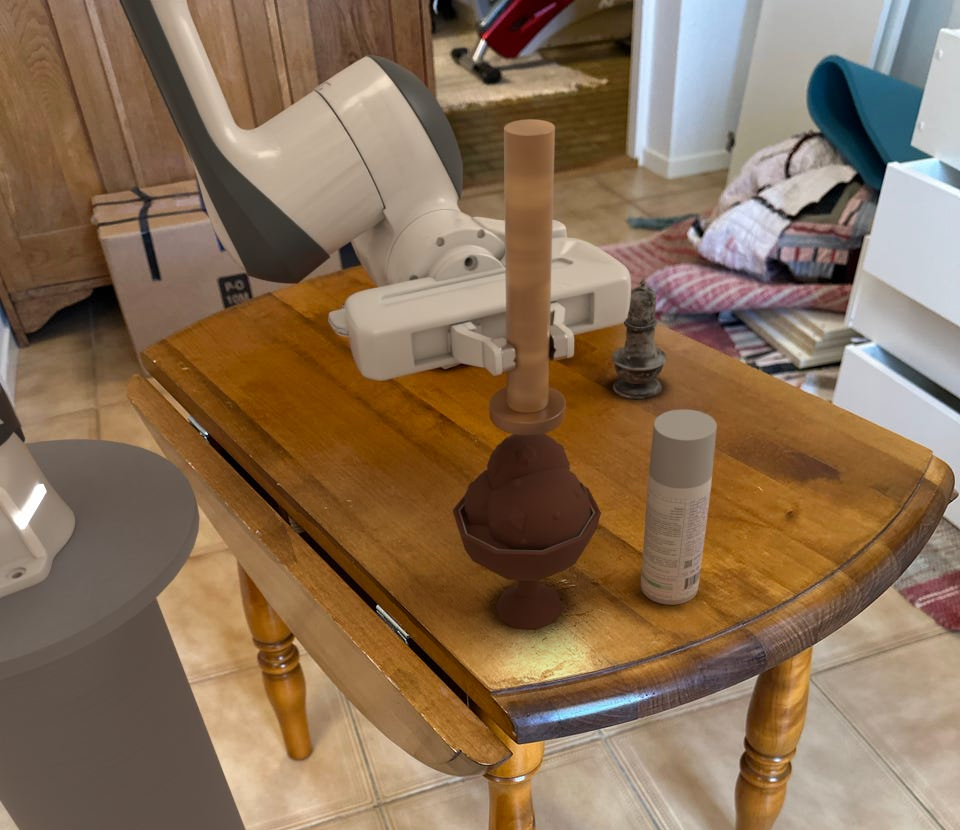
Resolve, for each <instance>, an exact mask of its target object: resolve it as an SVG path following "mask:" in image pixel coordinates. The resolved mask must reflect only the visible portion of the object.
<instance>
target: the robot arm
mask: <svg viewBox="0 0 960 830" xmlns="http://www.w3.org/2000/svg"><path fill="white" fill-rule="evenodd" d="M118 2H119V5H120V6H121V8H122V11H123V13H124V16H125V18H126V21H127V22H128V25H129V27H130V28H131V32H132V33H133V36H134V38H135V40H136V42H137V44H138V48H140V52H141V55H142V56H143V59H144V60H145V61H146V64H147V67H148V69H149V71H150V74H151V77H152V78H153V81H154V83H155V84H156V87H157V89H158V92H159V94H160V96H161V99H162V101H163V103H164V105H165V107H166V109H167V112H168V114H169V116H170V119H171V120H172V123H173V124H174V127H175V129H176V132H177V134H178V135H179V137H180V139H181V141H182V143H183V145H184V147H185V149H186V152H187V154H188V156H189V158H190V161H191V163H192V166H193V168H194V172H195V175H196V178H197V182H198V186H199V189H200V193H201V196H202V199H203V203H204V206H205V210H206V212H207V215H208V218H209V221H210V223H211V226H212V229H213V231H214V233H215V235H216V236H217V239H218V240H219V243H221V245H222V247H223V249H224V250H225V252H226V253H227V254H228V255H229V258H231V260H233V262H234V263H235V264H236V265H237V266H238V267H239V268H240V269H242V270H243V271H245V273H246V275H247V276H248V277H251V278H254V279H257V280H261V281H265V282H270V283H276V284H286V285H287V284H288V285H291V284H292V285H293V284H294V285H296V284H299V283H301V282H302V281H303V280H304V279H305V278H307V277H308V276H309V275H311V274H312V273H313V272H314V271H315V270H317V269H318V268H319V267H320V266H321V265H323V264H324V263H325V262H327V261H328V260H329V259H331V255H332V254H334V253H336V252H337V251H338V250H340V249H341V248H343V247H344V246H346V245H348V244H349V243H351V246H352V248H353V251H354V253H355V255H356V257H357V259H358V261H359V263H360V264H361V267H362V269H364V271H365V272H366V274H367V276H368V278H369V279H370V280H371V281H372V283H373V284H374V285H375V286H376V287H371V288H367V289H364V290H361V291H357V292H355V293H352V294H351V295H349V296H348V297H347V298H346V299H345V302H344V303H342V304H341V308H337V309H336V310H333V311H330V312H329V313H328V317H327V322H328V324H329V325H330V327H331V329H332V330H333V332H334V333H335V334H336V335H338V336H340V337H343V338H348V342H349V347H350V352H351V355H352V358H353V361H354V363H355V365H356V367H357V369H358V371H359V372H360V374H361V376H363V377H364V379H365V378H366V379H369V380H373V381H379V382H382V381H388V380H392V379H395V378H399V377H404V376H408V375H412V374H416V373H420V372H425V371H429V370H434V369H437V368H441V367H442V366H447V365H451V364H455V363H459V362H460V363H461V364H463V365H469V366H474V367H478V368H483V369H484V368H485V369H486V370H487V371H488V372H489V373H490V374H491V375H492V376H493V377H495V376H500V375H504V374H507V373H508V372H511V371H515V369H516V363H515V362H514V359H515V357H516V352H515V348H514V346H513V344H512V343H508V340H507V339H506V278H505V219H504V220H503V219H502V220H501V219H496V218H490V217H489V218H488V217H484V216H483V217H482V216H473V217H472V216H471V215H469V214H467V213H465V212H462V211H461V210H460V208H459V205H458V201H461V198H462V194H463V187H464V185H463V183H464V179H463V178H464V164H463V158H462V155H461V150H460V147H459V144H458V142H457V139H456V135H455V133H454V131H453V128H452V126H451V123H450V122H449V120H448V117H447V116H446V114H445V111H444V110H443V107H442V106H441V105H440V103H439V102H438V100H437V99H436V97H435V96H434V94H433V93H432V92H431V90H430V89H429V88H428V86H426V84H425V83H424V82H423V81H422V80H421V79H420V78H419V77H418V76H417V75H416V74H415V73H413V72H412V71H411V70H409V69H407V68H405V67H404V66H402V65H401V64H399V63H396V62H395V61H392V60H390V59H388V58H386V57H382V56H379V55H374V54H365V56H363V57H362V58H360V59H359V60H357V61H355V62H354V63H351V64H350V65H349V66H347V67H345V68H344V69H342V70H341V71H339V72H337V73H336V74H334V75H333V76H331V77H330V78H328V79H327V80H325V81H324V82H322V83H321V84H319V85H318V86H316V87H314V88H313V89H312V91H311V92H309V93H308V94H306V95H305V96H304V97H302V98H300V99H299V100H297V101H296V102H294V103H293V104H291V105H290V106H288V107H287V108H286V109H284V110H283V111H281V112H279V113H277V114H276V115H275V116H273V117H272V118H270V119H269V120H267V121H266V122H263V124H261V125H259V126H258V127H255V128H252V129H244V128H241V127H240V126H238V125H237V123H236V122H235V120H234V117H233V114H232V112H231V109H230V108H229V105H228V103H227V100H226V98H225V95H224V93H223V91H222V88H221V85H220V83H219V81H218V78H217V75H216V74H215V71H214V68H213V67H212V64H211V61H210V59H209V57H208V53H207V52H206V49H205V47H204V44H203V42H202V39H201V37H200V35H199V33H198V29H197V27H196V25H195V23H194V20H193V17H192V15H191V12H190V9H189V5H188V2H187V0H118ZM631 291H632V279H631V273H630V271H629V269H628V267H626V266H625V265H624V264H623V263H622V262H620V261H619V260H618V259H616V258H615V257H613V255H610V254H609V253H608V252H606V251H604V250H603V249H601V248H600V247H598V246H596V245H595V244H593V243H591V242H588V241H586V240H584V239H581V238H577V237H571V236H570V237H568V233H567V227H566V225H565V224H564V223H562V222H561V221H559V220H556V219H553V226H552V267H551V309H550V350H549V361H550V362H557V361H562V360H566V359H571V358H573V357H574V355H575V336H576V335H583V334H586V333H590V332H593V331H598V330H602V329H607V328H611V327H615V326H619V325H622V324H624V322H625V320H626V319H627V318H628V313H629V308H630V300H631ZM22 427H23V426H22V423H21V421H20V418H19V416H18V414H17V411H16V409H15V406H14V404H13V402H12V400H11V398H10V396H9V394H8V392H7V391H6V390H5V389H4V387H3V385H2V383H1V382H0V598H2V597H5V596H7V595H10V594H13V593H15V592H18V591H21V590H23V589H26V588H29V587H31V586H34V585H36V584H39V583H41V582H42V581H44V580H45V579H46V578H47V577H48V575H49V573H50V570H51V567H52V563H53V559H54V558H55V556H56V555H57V554H58V553H59V551H60V550H61V549H62V548H63V547H64V546H65V545H66V543H67V542H68V541H69V539H70V538H71V536H72V534H73V532H74V528H75V522H76V520H75V515H74V513H73V511H72V510H71V508H70V507H69V506H68V505H67V504H66V503H65V502H64V501H63V500H62V498H61V497H60V496H59V495H58V494H57V492H56V491H55V490H54V488H53V487H52V486H51V484H50V483H49V482H48V480H47V479H46V477H45V476H44V474H43V473H42V471H41V470H40V468H39V467H38V465H37V463H36V462H35V460H34V458H33V457H32V455H31V453H30V452H29V450H28V448H27V446H26V436H25V434H24V432H23V429H22Z"/></svg>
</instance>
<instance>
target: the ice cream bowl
mask: <svg viewBox="0 0 960 830" xmlns="http://www.w3.org/2000/svg"><path fill="white" fill-rule="evenodd" d="M569 461H570V460H569V459H568V456H567V453H566V451H565V448H564V446H563V444H561V443H558V441H557V440H556V439H555V438H553V437H552V436H550V435H548V434H547V433H544V434H539V435H530V436H524V435H515V434H511V435H509V436H508V437H507V436H506V437H505V438H504V439H503V440H502V441H500V443H498V444H497V445H496V447H495V448H494V450H493V451H492V453H491V454H490V456H489V459H488V461H487V464H486V469H485V470H483V471H482V472H481V473H479V475H478V476H477V477H475V479H474V480H473V481H471V482H470V483H469V484H468V487H467V490H466V492H465V493H464V496H463V497H462V498H461V499H460V500H459V501H458V503H457V504H456V505H455V506H454V508H452V513H453V517H454V519H455V522H456V526H457V529H458V533H459V536H460V539H461V541H462V545H463V548H464V551H465V553H466V554H468V557H469V558H470V559H471V561H472V562H474V563H476V564H478V565H479V566H481V567H483V568H484V569H486V570H489V571H490V572H492V573H494V574H496V575H498V576H500V577H502V578H504V579H506V580H508V581H517V584H515V585H513V586H510V587H508V588H505V589H504V591H502V594H501V595H500V596H499V598H497V599H498V600H496V604H495V610H496V613H497V616H498V619H499V621H502V622H503V623H505V624H506V625H509V626H511V627H512V628H514V629H517V630H519V629H520V630H539V629H541V628H544V627H546V626H548V625H552V624H553V623H556V622H557V620H558V619H559V617H560V615H562V614H561V613H562V612H563V610H564V606H563V603H562V601H561V599H560V596H559V594H558V591H557V590H555V589H554V588H552V587H550V586H547V585H546V584H544V583H540V581H542V580H544V579H547V578H549V577H552V576H554V575H557V574H559V573H561V572H564V571H565V570H567V569H569V568H571V567H573V566H574V565H575V564H577V562H578V561H579V559H580V557H581V555H582V554H583V552H584V551H585V549H586V548H587V546H588V544H589V543H590V541H591V539H592V538H593V536H594V534H595V533H596V531H597V529H598V526H599V522H600V519H601V516H602V515H601V514H602V512H601V509H600V507H599V506H598V504H597V502H596V500H595V498H594V496H593V494H592V492H591V490H590V488H589V487H587V486H586V485H584V484H583V482H580V479H579V478H578V477H577V475H576V474H575V473H574V472H572V471H571V470H570V469H571V467H570V465H571V464H570V462H569Z"/></svg>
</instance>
